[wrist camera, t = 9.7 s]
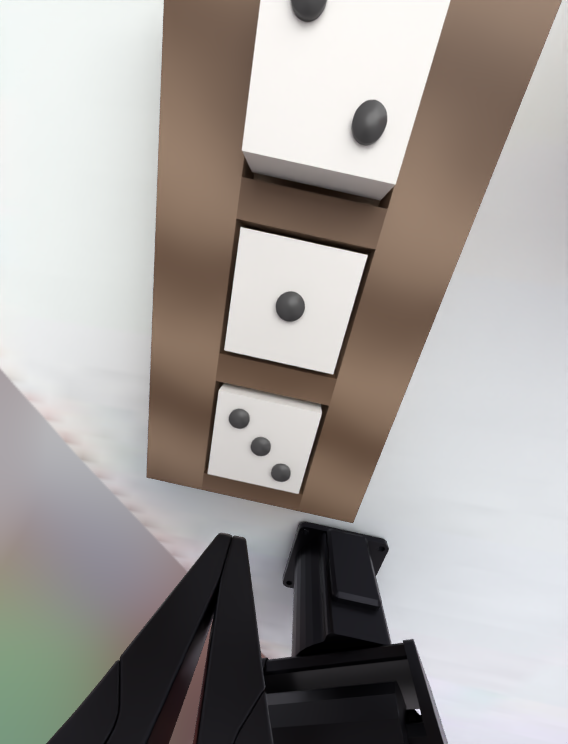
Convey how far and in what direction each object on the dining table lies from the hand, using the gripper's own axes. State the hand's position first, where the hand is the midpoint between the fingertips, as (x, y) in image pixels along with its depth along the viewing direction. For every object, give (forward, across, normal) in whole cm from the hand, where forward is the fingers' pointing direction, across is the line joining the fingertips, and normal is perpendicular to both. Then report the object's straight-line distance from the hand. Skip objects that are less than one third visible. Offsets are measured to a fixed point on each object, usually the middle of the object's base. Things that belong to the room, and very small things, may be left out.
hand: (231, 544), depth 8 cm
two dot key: (+6, 0, -14) cm, 15 cm away
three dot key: (+7, 0, 0) cm, 7 cm away
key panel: (+9, 0, -7) cm, 11 cm away
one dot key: (+7, 0, -7) cm, 10 cm away
